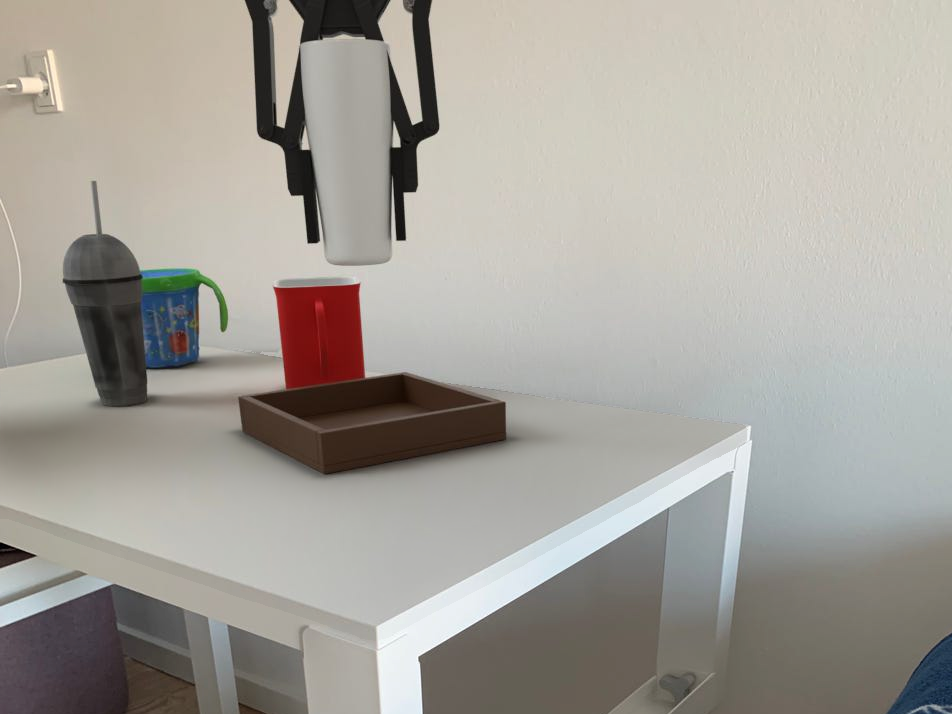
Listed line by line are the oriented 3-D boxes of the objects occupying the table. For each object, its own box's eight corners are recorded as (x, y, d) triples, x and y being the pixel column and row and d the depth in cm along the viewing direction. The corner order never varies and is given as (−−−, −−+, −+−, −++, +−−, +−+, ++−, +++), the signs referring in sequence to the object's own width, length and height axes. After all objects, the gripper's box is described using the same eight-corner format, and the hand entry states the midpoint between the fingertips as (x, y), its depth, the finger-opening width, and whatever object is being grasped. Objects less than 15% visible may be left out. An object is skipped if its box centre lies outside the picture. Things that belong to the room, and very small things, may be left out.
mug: (285, 386, 105) (274, 278, 100) (364, 381, 106) (356, 275, 101) (284, 411, 94) (271, 292, 90) (372, 406, 95) (363, 288, 91)
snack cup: (83, 372, 115) (65, 278, 110) (121, 356, 124) (105, 269, 120) (216, 371, 113) (203, 276, 109) (244, 355, 123) (233, 266, 118)
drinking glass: (418, 260, 80) (408, 43, 74) (368, 268, 75) (353, 36, 69) (351, 258, 83) (335, 50, 77) (298, 266, 78) (277, 43, 72)
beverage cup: (70, 407, 98) (25, 182, 89) (112, 392, 104) (74, 180, 95) (137, 410, 96) (98, 181, 87) (175, 394, 102) (142, 179, 94)
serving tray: (242, 431, 87) (237, 396, 86) (407, 404, 96) (405, 371, 94) (324, 474, 75) (320, 433, 74) (506, 439, 83) (506, 401, 82)
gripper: (178, -134, 65) (226, 248, 75) (473, -139, 66) (482, 240, 76) (200, -107, 71) (242, 241, 81) (467, -111, 72) (476, 234, 82)
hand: (357, 240), depth 79 cm, fingers closed on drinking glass, 6 cm apart
